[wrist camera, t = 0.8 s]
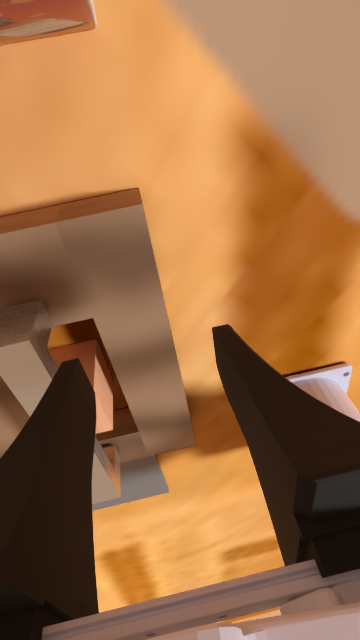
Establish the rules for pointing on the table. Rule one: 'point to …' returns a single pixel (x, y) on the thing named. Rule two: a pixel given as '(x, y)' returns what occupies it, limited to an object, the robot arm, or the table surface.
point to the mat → (138, 481)
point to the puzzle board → (101, 311)
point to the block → (92, 377)
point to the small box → (44, 19)
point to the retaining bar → (45, 381)
